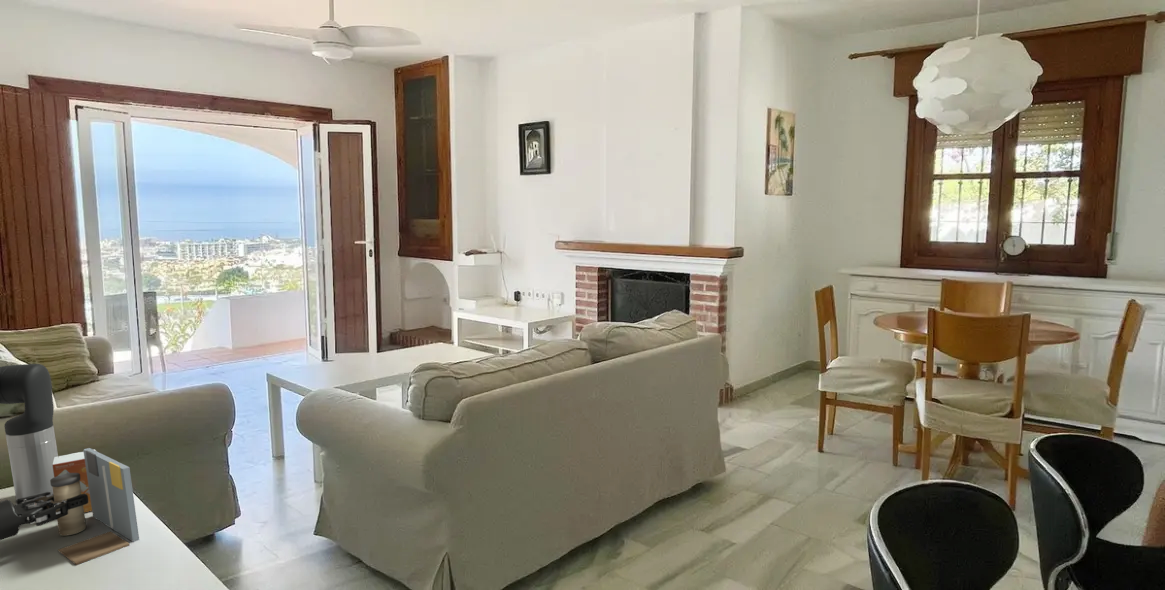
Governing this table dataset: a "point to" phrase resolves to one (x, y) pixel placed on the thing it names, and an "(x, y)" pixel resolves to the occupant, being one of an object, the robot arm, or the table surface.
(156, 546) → the table surface
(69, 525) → the post
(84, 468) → the small box
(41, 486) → the robot arm
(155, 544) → the table surface
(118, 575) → the table surface
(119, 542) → the walnut pad
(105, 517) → the panel
